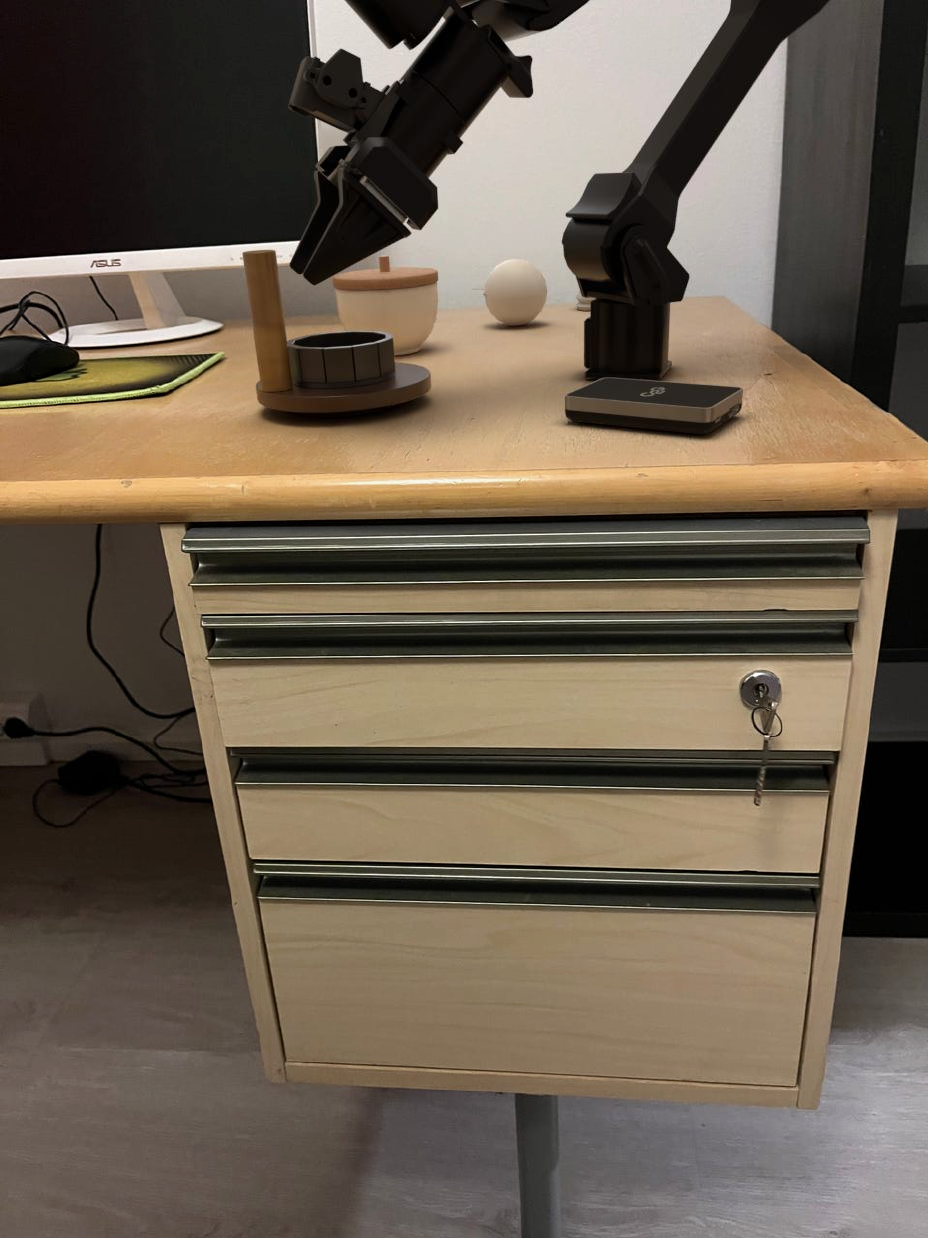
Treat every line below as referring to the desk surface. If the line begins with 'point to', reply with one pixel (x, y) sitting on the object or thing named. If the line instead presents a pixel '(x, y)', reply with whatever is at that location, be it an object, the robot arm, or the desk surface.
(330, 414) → the turntable hub
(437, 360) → the desk surface
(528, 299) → the seamed sphere
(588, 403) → the external hard drive
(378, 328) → the trinket box
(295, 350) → the turntable
